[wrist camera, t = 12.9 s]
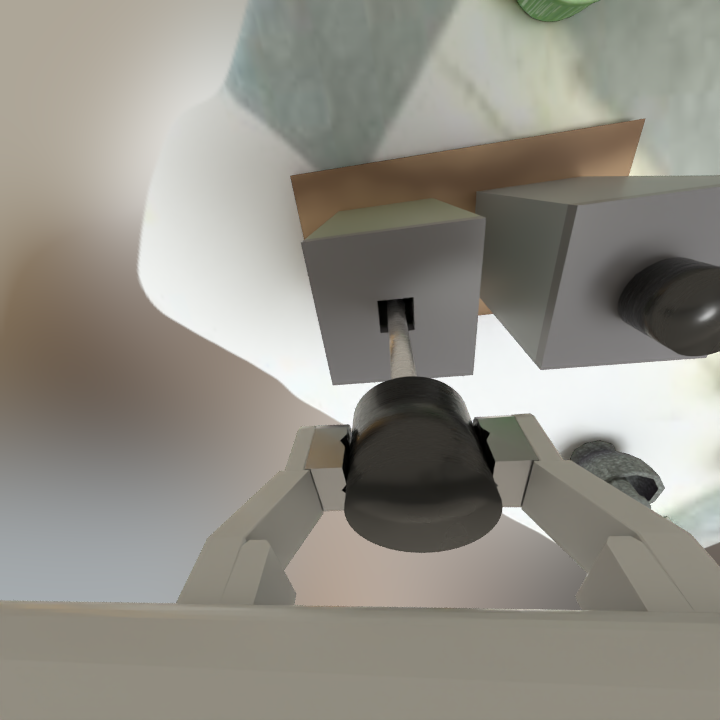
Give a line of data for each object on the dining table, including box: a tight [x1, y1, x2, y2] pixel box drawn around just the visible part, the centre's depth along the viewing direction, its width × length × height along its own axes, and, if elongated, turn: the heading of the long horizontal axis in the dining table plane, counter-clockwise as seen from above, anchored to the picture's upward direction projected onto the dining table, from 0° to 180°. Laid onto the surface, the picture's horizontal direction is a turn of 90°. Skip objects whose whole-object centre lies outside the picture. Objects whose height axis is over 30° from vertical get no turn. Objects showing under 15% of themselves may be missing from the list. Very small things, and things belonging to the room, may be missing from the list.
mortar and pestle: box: [570, 441, 665, 509], centre depth 41 cm, size 11×9×12 cm
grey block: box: [475, 175, 720, 370], centre depth 22 cm, size 9×9×16 cm
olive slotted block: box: [301, 198, 486, 385], centre depth 24 cm, size 9×9×16 cm
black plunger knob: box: [344, 297, 502, 553], centre depth 15 cm, size 7×7×19 cm
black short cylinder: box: [618, 257, 720, 356], centre depth 20 cm, size 7×7×19 cm
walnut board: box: [290, 119, 645, 315], centre depth 30 cm, size 16×30×2 cm, turn 98°
